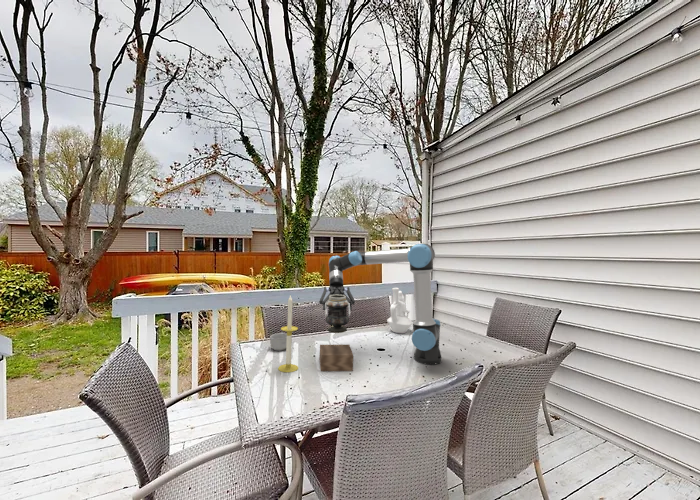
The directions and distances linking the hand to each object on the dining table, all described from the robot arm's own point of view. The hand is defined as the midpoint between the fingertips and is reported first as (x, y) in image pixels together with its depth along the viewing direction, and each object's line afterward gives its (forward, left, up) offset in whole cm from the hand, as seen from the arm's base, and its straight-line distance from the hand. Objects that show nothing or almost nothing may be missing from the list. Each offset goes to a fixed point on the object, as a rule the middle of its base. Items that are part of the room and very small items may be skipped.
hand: (337, 315), depth 176 cm
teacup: (+30, -29, -27) cm, 50 cm away
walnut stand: (0, -3, -27) cm, 27 cm away
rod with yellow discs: (+24, +1, -27) cm, 36 cm away
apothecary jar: (0, -2, -9) cm, 9 cm away
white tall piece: (-49, -60, -27) cm, 82 cm away
